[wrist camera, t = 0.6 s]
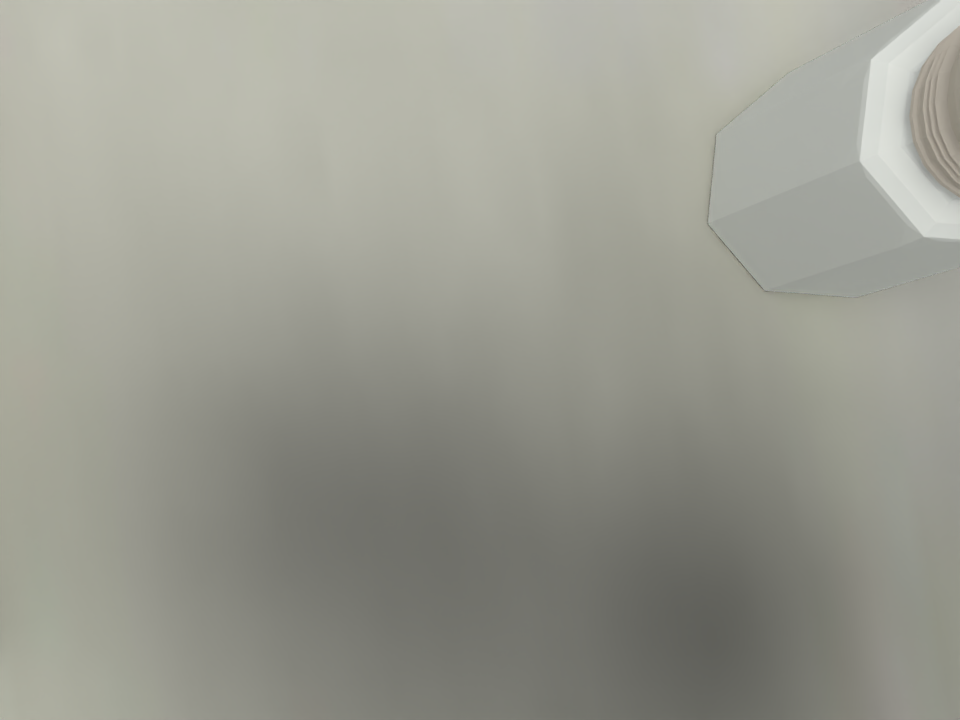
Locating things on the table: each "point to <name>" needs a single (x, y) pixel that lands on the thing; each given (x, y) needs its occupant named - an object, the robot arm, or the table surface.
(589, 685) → the table surface
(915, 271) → the pepper shaker
